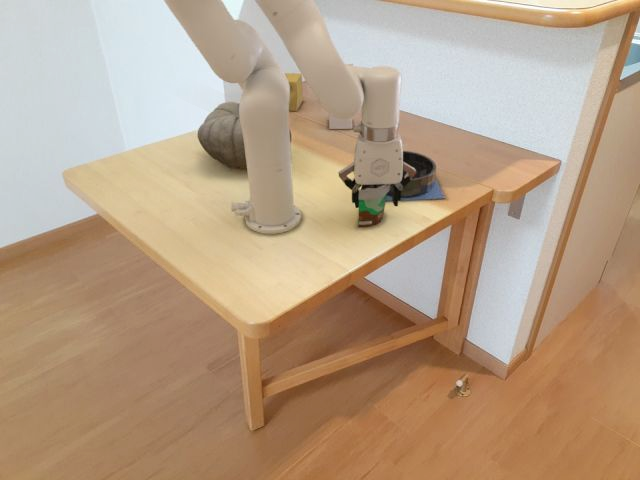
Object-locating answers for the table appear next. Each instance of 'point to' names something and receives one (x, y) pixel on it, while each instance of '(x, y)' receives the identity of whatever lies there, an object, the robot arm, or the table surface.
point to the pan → (417, 175)
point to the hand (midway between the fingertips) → (375, 203)
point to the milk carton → (340, 121)
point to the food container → (372, 204)
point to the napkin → (432, 194)
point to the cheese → (295, 90)
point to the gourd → (224, 136)
